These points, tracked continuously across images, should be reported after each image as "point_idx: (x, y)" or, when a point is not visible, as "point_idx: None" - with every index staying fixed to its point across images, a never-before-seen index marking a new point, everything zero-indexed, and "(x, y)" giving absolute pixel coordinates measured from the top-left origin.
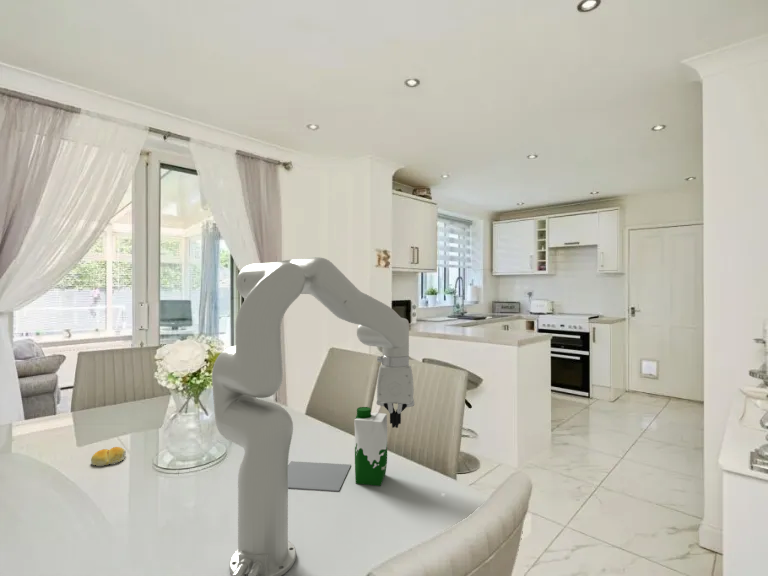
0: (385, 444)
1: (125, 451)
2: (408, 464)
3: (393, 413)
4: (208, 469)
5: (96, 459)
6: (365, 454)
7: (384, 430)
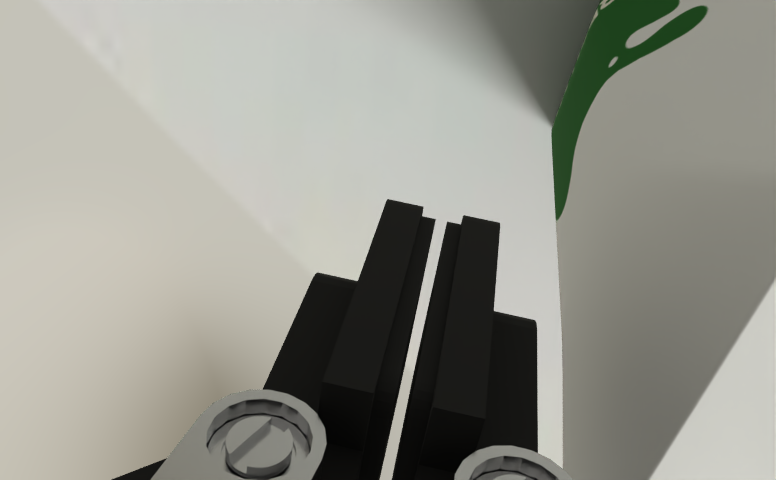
0: (605, 115)
1: None
2: (353, 277)
3: (441, 432)
4: None
5: None
6: None
7: (656, 191)
